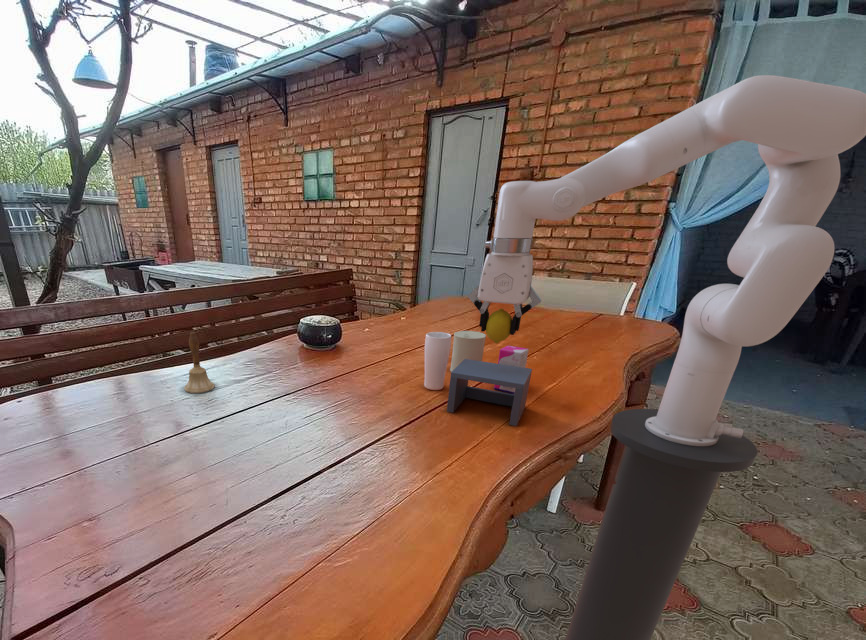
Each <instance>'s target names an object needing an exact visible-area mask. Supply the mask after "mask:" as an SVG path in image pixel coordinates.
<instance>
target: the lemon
mask: <svg viewBox="0 0 866 640" xmlns="http://www.w3.org/2000/svg"><path fill="white" fill-rule="evenodd" d="M512 318H513V317H512V315H511V314H510V313H509V312H508V311H506V310H505V309H504V308H499V309H498V310H495V311H493V312H492V313H491V314H489V318H488V320H487V323H486V330H485V332H486V337H488V338H489V340H491V341H493V342H494V344H496V345H497V344H499V343H501V342H503V341H505V340H506V339H508V337H510V335H511V334H510V330H511V324H512Z"/></svg>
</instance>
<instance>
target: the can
mask: <svg viewBox="0 0 866 640" xmlns="http://www.w3.org/2000/svg"><path fill="white" fill-rule="evenodd" d="M486 338H487V334H485V333H483V332H481V331H474V330H459V331H455V332H454V333H453V342H452V344H453V345H452V353H451V354H452V355H451V362H450V368H449V371H450V373H451V372H452V371H453V370H454V369H455V368H456V367H457V366H458V365H459V364H460V363H461V362H462V361H463V360H464V359H469V360H476V361H483V358H484V349H485V344H486Z"/></svg>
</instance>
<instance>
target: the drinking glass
mask: <svg viewBox="0 0 866 640" xmlns="http://www.w3.org/2000/svg"><path fill="white" fill-rule="evenodd" d="M451 347H452V334H450V333H448V332H445V331H430V332H427V333H426V334H425V338H424V348H423V352H424V354H423V357H424V359H423V360H424V361H423V363H424V364H423V365H424V370H423V371H424V377H423V378H424V381H423V386H424V388H425V389H427V390H429V391H430V390H431V391H440V390H442V389H444V386H445V379H446V374H447V369H448V363H449V359H450V354H451Z"/></svg>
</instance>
